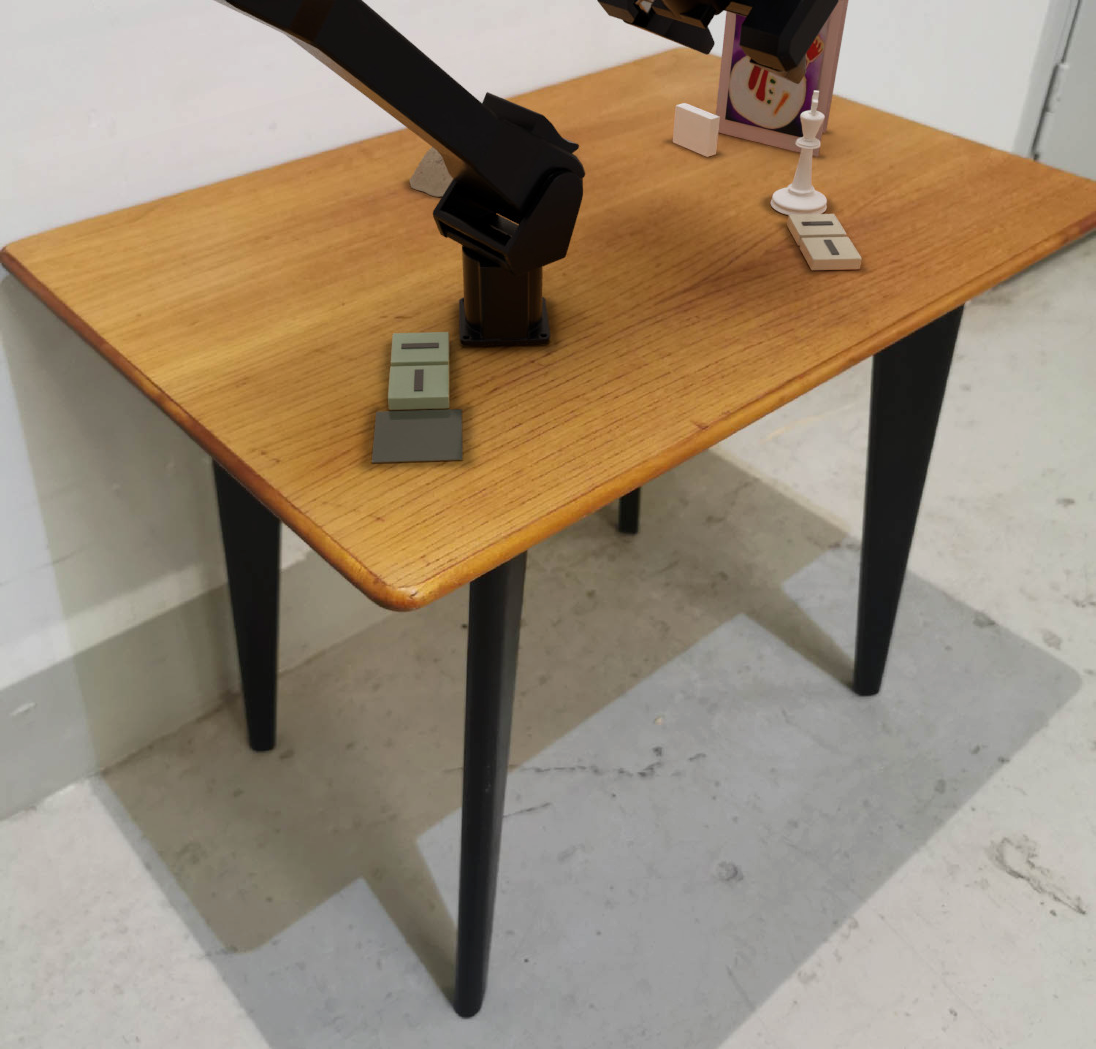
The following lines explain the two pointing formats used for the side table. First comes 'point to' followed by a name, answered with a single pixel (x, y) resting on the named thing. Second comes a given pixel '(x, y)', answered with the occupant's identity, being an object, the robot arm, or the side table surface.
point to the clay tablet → (431, 174)
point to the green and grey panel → (418, 403)
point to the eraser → (696, 129)
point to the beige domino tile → (823, 242)
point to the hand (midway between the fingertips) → (754, 63)
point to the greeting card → (776, 87)
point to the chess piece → (803, 171)
